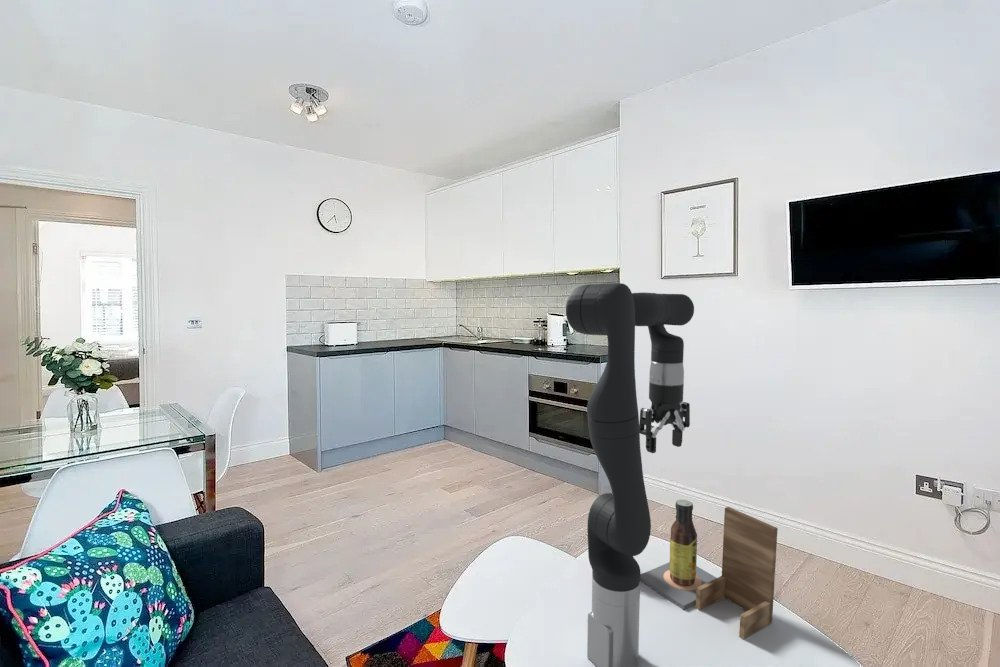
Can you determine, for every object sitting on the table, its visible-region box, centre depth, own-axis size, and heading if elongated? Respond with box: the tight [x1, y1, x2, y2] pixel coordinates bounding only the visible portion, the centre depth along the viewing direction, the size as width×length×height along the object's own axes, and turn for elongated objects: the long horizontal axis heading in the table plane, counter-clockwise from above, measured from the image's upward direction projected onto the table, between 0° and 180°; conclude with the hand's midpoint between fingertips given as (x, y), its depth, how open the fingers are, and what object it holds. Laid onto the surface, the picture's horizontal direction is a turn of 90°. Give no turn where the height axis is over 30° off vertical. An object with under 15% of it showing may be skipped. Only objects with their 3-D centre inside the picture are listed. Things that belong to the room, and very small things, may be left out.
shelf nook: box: [695, 506, 779, 640], centre depth 113 cm, size 10×12×22 cm
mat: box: [640, 561, 717, 610], centre depth 126 cm, size 16×14×1 cm
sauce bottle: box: [669, 499, 698, 586], centre depth 125 cm, size 6×6×20 cm
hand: (664, 448), depth 119 cm, fingers open, 8 cm apart
